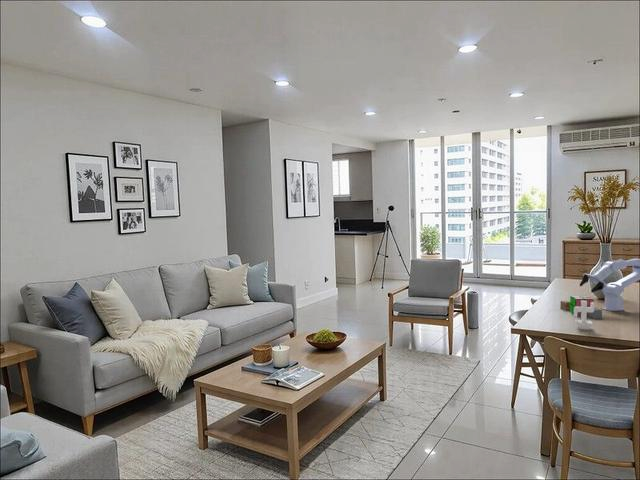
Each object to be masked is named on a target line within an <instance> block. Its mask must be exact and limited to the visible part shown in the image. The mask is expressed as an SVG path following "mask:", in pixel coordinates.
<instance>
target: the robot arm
mask: <svg viewBox="0 0 640 480" xmlns="http://www.w3.org/2000/svg"><path fill="white" fill-rule="evenodd" d="M631 266H632V272H631V273H630V274H628V275H626V276H624V277H622V278H620V279H619V280H617V281H615V282H614V281H613V282H608V283H606V282H605V281H604V280H605V279H607V277H608V276H610V275H611V274H612V273H613V272H618V271H619V270H624V269H626V268H627V267H631ZM582 276H583V277H582V280H581V282H580V283H579V286H580V287H583V286H584V285H585V284H587V283H588V282H589V280H590V281H592V282H593V283H594V284H596V285H595V286H594V287H592V289H591V291H590V292H591V293H592V294H593V293H594V292H597V291H600V290H601V292H602V293H603V295H604V307H601V310H606V311H609V312H615V311H625V309H624V298H623V296H622V293H623V292H625V288H627V287H629V286H630V285H633V284H634V283H637V281H640V258H631V259H628V260H625V259H622V258H619V259H618V260H612V261H605V262H604V263H603V265H602V266H601V268H600V269H599V270H597V272H595V273H594V274H589V273H586V272H585V273H583V274H582Z"/></svg>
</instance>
